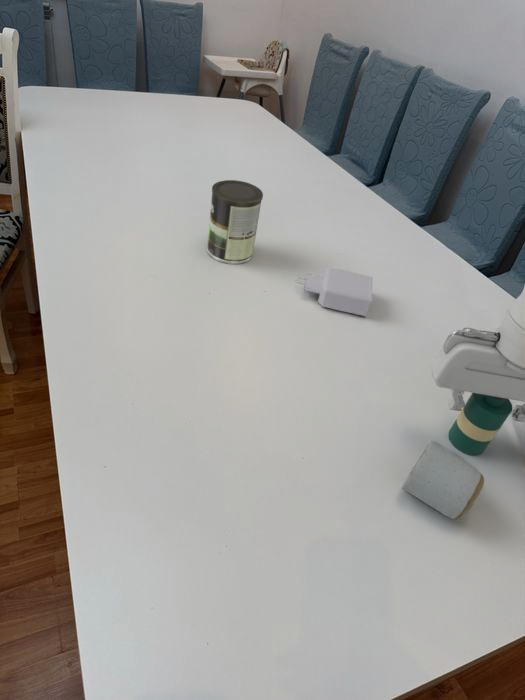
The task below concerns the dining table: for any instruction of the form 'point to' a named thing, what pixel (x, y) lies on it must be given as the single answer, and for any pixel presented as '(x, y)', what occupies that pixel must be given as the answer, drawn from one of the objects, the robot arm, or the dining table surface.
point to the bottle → (479, 423)
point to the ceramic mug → (444, 481)
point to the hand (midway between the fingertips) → (485, 412)
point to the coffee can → (233, 221)
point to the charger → (341, 290)
